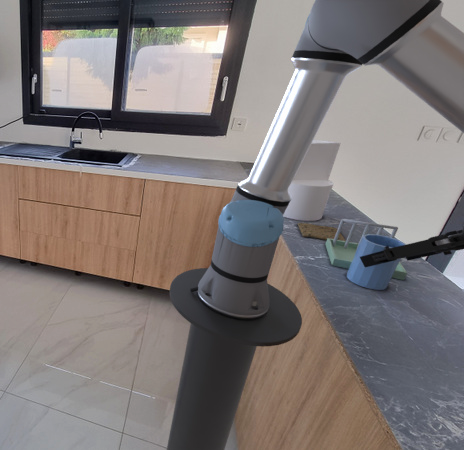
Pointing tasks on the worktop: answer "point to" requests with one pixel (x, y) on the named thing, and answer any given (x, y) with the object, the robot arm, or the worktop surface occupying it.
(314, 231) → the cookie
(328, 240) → the dish rack
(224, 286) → the robot arm
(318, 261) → the worktop surface
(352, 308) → the worktop surface
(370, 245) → the tumbler
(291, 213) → the white rounded block
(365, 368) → the worktop surface
